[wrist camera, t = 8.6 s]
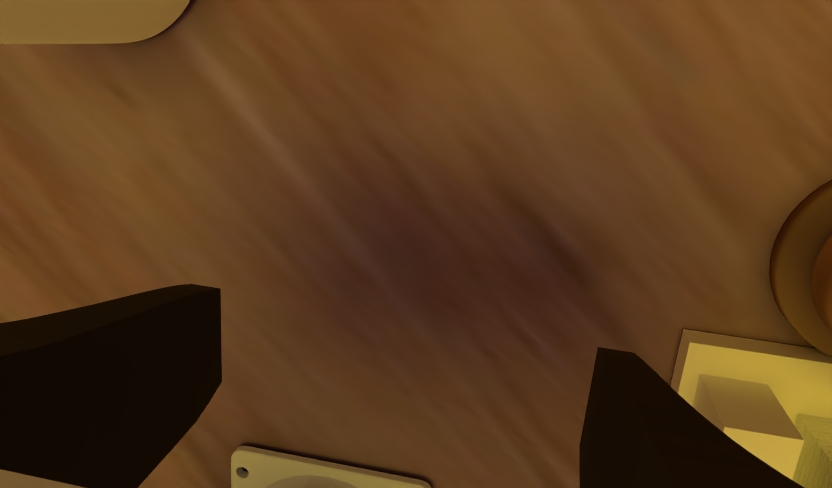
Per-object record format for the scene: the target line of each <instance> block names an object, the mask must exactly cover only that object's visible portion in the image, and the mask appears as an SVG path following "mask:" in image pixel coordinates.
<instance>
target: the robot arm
mask: <svg viewBox="0 0 832 488" xmlns="http://www.w3.org/2000/svg"><path fill="white" fill-rule="evenodd" d="M221 382H222V364H221V298H220V288H213V287H207V286H200V285H194V284H187V285H177V286H171V287H165V288H161V289H156V290H151V291H147V292H143V293H139V294H134V295H130V296H126V297H122V298H118V299H114V300H110V301H106V302H102V303H98V304H94V305H89V306H85V307H80V308H76V309H71V310H66V311H62V312H57V313H53V314H48V315H44V316H39V317H34V318H29V319H24V320H18V321H12V322H6V323H0V488H138V487H139V485H140V484H141V483H142V482H143V481H144V480H145V479H146V478H147V477H148V475H149V474H150V473H151V472H152V471H153V470H154V469H155V468H156V467H157V465H158V464H159V463H160V462H161V461H162V460H163V459H164V458H165V456H166V455H167V454H168V453H169V452H170V451H171V450H172V449H173V447H174V446H175V445H176V444H177V443H178V442H179V441H180V439H181V438H182V437H183V436H184V435H185V434H186V433H187V431H188V430H189V429H190V428H191V427H192V426H193V424H194V423H195V422H196V421H197V419H198V418H199V416H200V415H201V413H202V412H203V411H204V409H205V408H206V406H207V405H208V403H209V402H210V400H211V398H212V397H213V395H214V393H215V392H216V390H217V389H218V387H219V385H220V384H221ZM241 467H244V468H246V469H247V470H248V472H245V471H243V469H242V468H241ZM231 488H431V486H430V485H429V484H428V483H427V482H425V481H422V480H419V479H413V478H408V477H403V476H398V475H393V474H388V473H383V472H378V471H373V470H367V469H362V468H357V467H352V466H347V465H342V464H337V463H332V462H326V461H321V460H316V459H311V458H306V457H301V456H296V455H291V454H285V453H280V452H275V451H270V450H265V449H260V448H255V447H250V446H240V447H238V448H237V449H236V450H235V451H234V453H233V454H232V456H231ZM580 488H804V487H803V486H801V485H800V484H798V483H796V482H795V481H793V480H791V479H790V478H788V477H786V476H785V475H783V474H782V473H780V472H779V471H777V470H776V469H774V468H773V467H771V466H770V465H768V464H767V463H765V462H764V461H762V460H761V459H759V458H758V457H756V456H755V455H753V454H752V453H750V452H749V451H747V450H746V449H745V448H743V447H742V446H741V445H739V444H738V443H736V442H735V441H734V440H732V439H731V438H730V437H729V436H727V435H726V434H725V433H724V432H722V431H721V430H720V429H719V428H717V427H716V426H715V425H714V424H712V423H711V422H710V421H709V420H707V419H706V418H705V417H704V416H703V415H702V414H700V413H699V412H698V411H697V410H696V409H695V408H693V407H692V406H691V405H690V404H689V403H688V402H687V401H686V400H685V399H683V398H682V397H681V396H680V395H679V394H678V393H677V392H676V391H675V390H674V389H673V388H672V387H671V386H669V385H668V384H667V383H666V382H665V381H664V380H663V379H662V378H661V377H660V376H659V375H658V374H657V373H656V372H655V371H654V370H653V369H652V368H651V367H650V366H648V365H647V364H646V363H645V362H644V361H643V360H642V359H641V358H640V357H639V356H637V355H636V354H635V353H632V352H625V351H619V350H613V349H606V348H600V347H598V350H597V355H596V361H595V366H594V371H593V377H592V382H591V388H590V393H589V398H588V404H587V409H586V414H585V420H584V425H583V431H582V436H581V441H580Z"/></svg>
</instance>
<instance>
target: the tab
mask: <svg viewBox="0 0 832 488" xmlns="http://www.w3.org/2000/svg"><path fill="white" fill-rule="evenodd" d="M794 425H795V427H796V429H797V430H798V432H799V433H800V435H801V436H802V438H803V439H804V443H803V446H802V449H801V453H800V456H799V459H798V462H797V465H796V469H795V472H794V475H793V478H792V480H793V481H795V482H796V483H798V484H800V485H801V486H803V487H804V488H832V419H831V418H825V417H819V416H812V415H806V414H800V413H798V414H797V417H796V421H795V424H794Z"/></svg>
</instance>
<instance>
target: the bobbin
mask: <svg viewBox="0 0 832 488" xmlns="http://www.w3.org/2000/svg"><path fill="white" fill-rule="evenodd" d="M770 281H771V288H772V291H773V295H774V298H775V300H776V302H777V305H778V307H779V309H780V310H781V312H782V313H783V315H784V316H785V318H786V319H787V320H788V321H789V322H790V324H791V325H792V326H793V327H794V328H795V329H796V330H797V332H798V333H799V334H800V335H801V336H802V337H803V338H804V339H805V340H806V341H807V342H809V343H810V344H811V345H812V346H814V347H815V348H817V349H818V350H820V351H821V352H823V353H825V354H827V355H829V356H831V357H832V180H831V181H829V182H828V183H826V184H824V185H822V186H821V187H820V188H818V189H817V190H815V191H814V192H813V193H811V194H810V195H809V196H808V197H807V198H805V199H804V200H803V201H802V202H801V203H800V204H799V205H798V206H797V207H796V208H795V210H794V211H793V212H792V213H791V214H790V216H789V217H788V219H787V220H786V221H785V223H784V224H783V226H782V228H781V230H780V232H779V234H778V236H777V238H776V241H775V244H774V247H773V250H772V255H771V260H770Z"/></svg>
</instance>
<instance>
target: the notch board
mask: <svg viewBox="0 0 832 488" xmlns="http://www.w3.org/2000/svg"><path fill="white" fill-rule="evenodd" d="M670 386H671V387H672V388H673V389H674V390H675V391H676V392H677V393H678V394H679V395H680V396H681V397H682V398H683V399H685V400H686V401H687V402H688V403H689V404H690V405H691V406H692V407H693V408H695V409H696V410H697V411H698V412H699V413H700V414H702V415H703V416H704V417H705V418H706V419H707V420H709V421H710V422H711V423H712V424H714V425H715V426H716V427H717V428H719V429H720V430H721V431H722V432H724V433H725V434H726V435H727V436H729V437H730V438H731V439H732V440H734V441H735V442H736V443H738V444H739V445H741V446H742V447H743V448H745V449H746V450H747V451H749V452H750V453H752V454H753V455H755V456H756V457H758V458H759V459H761V460H762V461H764V462H765V463H767V464H768V465H770V466H771V467H773V468H774V469H776V470H777V471H779V472H780V473H782V474H783V475H785V476H786V477H788V478H790V479H791V480H792V478H793V475H794V472H795V469H796V465H797V462H798V459H799V456H800V453H801V449H802V446H803V443H804V439H803V438H802V436H801V435H800V433H799V432H798V430H797V429H796V427H795V425H794V424H795V421H796V417H797V414H798V413H800V414H806V415H812V416H819V417H825V418H831V419H832V357H831V356H829V355H827V354H825V353H823V352H821V351H820V350H818V349H815V348H808V347H802V346H795V345H788V344H781V343H775V342H768V341H761V340H754V339H748V338H741V337H734V336H727V335H721V334H714V333H707V332H700V331H694V330H687V329H683V333H682V337H681V342H680V346H679V350H678V355H677V359H676V363H675V368H674V372H673V377H672V381H671V385H670Z"/></svg>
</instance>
